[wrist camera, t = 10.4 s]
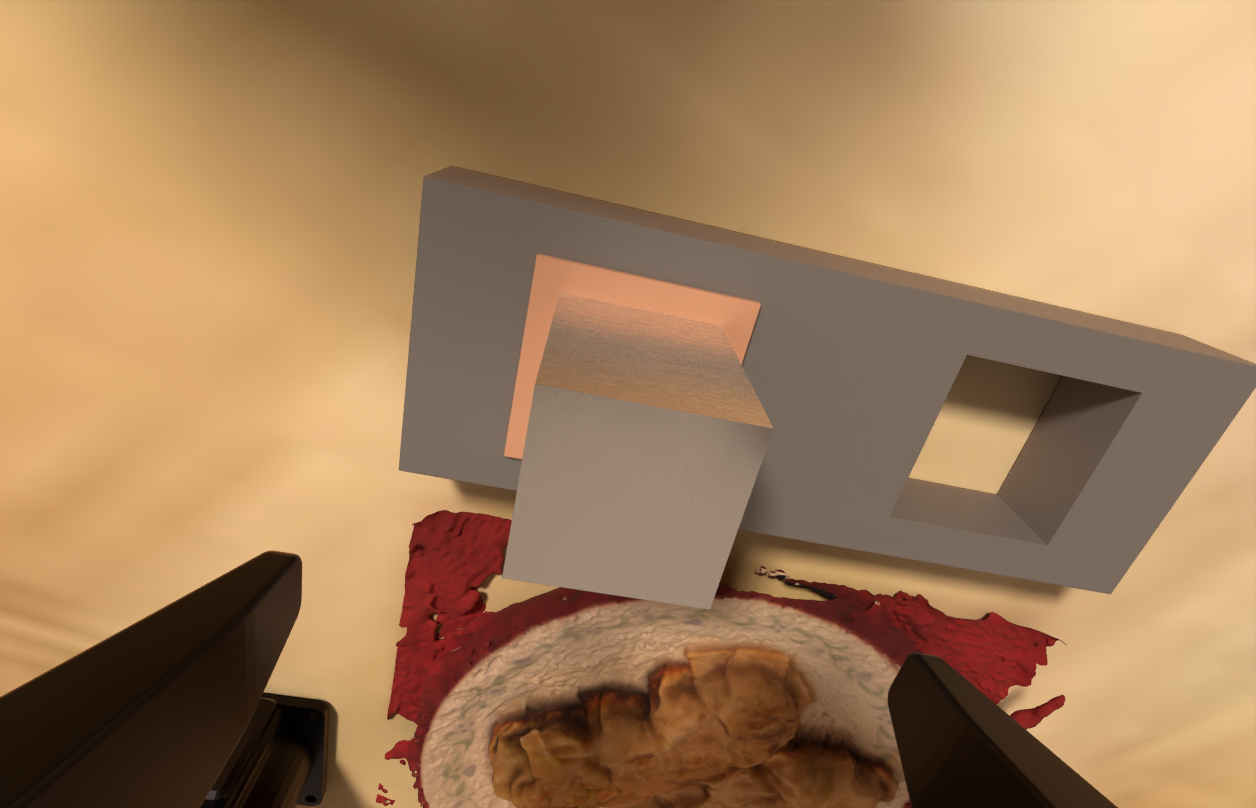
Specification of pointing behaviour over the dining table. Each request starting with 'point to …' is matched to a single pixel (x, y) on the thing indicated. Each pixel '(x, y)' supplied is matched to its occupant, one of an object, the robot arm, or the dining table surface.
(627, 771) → the plate with food
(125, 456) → the dining table surface
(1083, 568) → the parts holder
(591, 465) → the aluminium block
